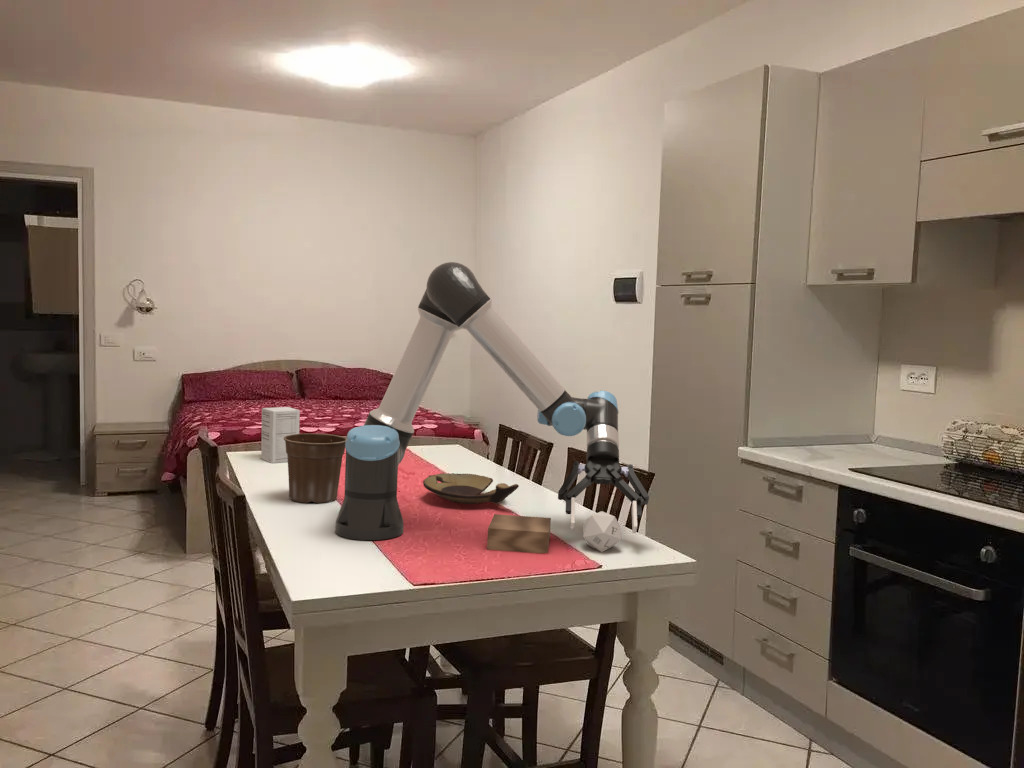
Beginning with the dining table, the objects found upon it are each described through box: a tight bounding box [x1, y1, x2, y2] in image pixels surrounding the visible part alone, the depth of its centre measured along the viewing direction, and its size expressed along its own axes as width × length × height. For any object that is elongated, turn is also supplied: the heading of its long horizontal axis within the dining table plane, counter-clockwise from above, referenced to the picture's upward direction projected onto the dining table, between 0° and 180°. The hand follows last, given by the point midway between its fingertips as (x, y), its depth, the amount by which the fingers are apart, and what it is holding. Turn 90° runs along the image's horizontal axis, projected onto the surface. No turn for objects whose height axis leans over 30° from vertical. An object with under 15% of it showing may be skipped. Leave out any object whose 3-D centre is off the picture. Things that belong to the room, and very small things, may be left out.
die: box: [582, 510, 622, 553], centre depth 181 cm, size 8×9×10 cm
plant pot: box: [284, 432, 347, 504], centre depth 214 cm, size 16×16×16 cm
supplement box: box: [260, 406, 301, 464], centre depth 266 cm, size 10×9×17 cm
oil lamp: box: [422, 472, 520, 505], centre depth 219 cm, size 22×30×8 cm
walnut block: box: [486, 513, 552, 555], centre depth 182 cm, size 13×13×5 cm
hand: (603, 528), depth 179 cm, fingers open, 13 cm apart
